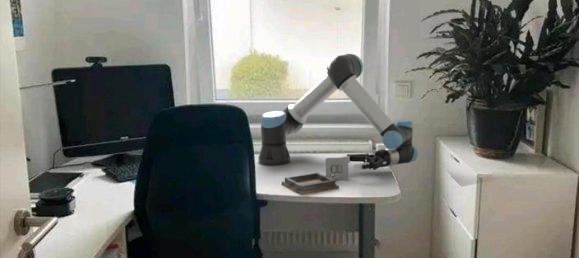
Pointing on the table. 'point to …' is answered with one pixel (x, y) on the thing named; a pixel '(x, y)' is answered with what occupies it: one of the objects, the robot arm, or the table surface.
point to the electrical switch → (337, 168)
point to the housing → (310, 183)
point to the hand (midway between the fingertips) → (345, 164)
